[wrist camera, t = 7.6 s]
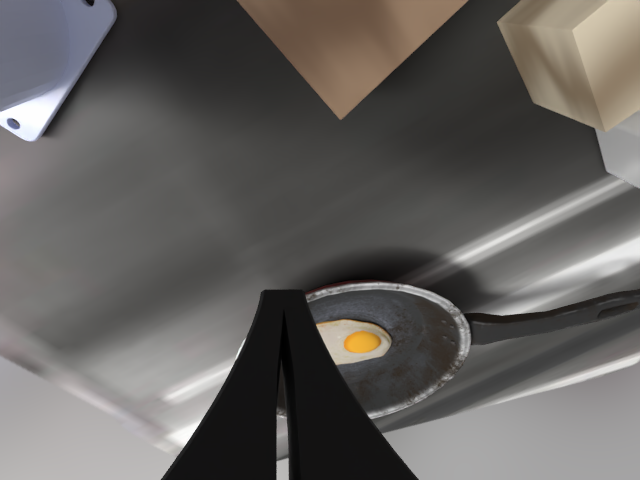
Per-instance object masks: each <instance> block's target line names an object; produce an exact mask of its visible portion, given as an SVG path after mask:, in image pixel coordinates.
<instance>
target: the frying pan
mask: <svg viewBox="0 0 640 480" xmlns="http://www.w3.org/2000/svg"><path fill="white" fill-rule="evenodd" d="M305 295H306V299H307V302H308V305H309V308H310V311H311V314H312V316H313V319H314V321H315V324H316V326H317V328H318V330H319V333H320V335H321V337H322V339H323V341H324V343H325V345H326V347H327V349H328V351H329V353H330V355H331V357H332V359H333V360H334V362H335V364H336V366H337V368H338V369H339V371H340V373H341V375H342V376H343V378H344V380H345V381H346V383H347V385H348V386H349V388H350V389H351V391H352V393H353V394H354V396H355V397H356V399H357V400H358V402H359V403H360V405H361V406H362V408H363V409H364V410H365V412H366V413H367V415H368V416H369V418H370V419H373V418H377V417H380V416H384V415H387V414H391V413H394V412H397V411H399V410H402V409H404V408H407V407H409V406H411V405H413V404H415V403H417V402H419V401H421V400H423V399H425V398H427V397H428V396H430V395H431V394H433V393H434V392H436V391H437V390H439V389H440V388H442V387H443V386H444V385H445V384H446V383H447V382H448V381H449V380H450V379H452V378H453V377H454V375H455V374H456V373H457V372H458V370H459V369H460V368H461V367H462V365H463V363H464V361H465V359H466V357H467V355H468V353H469V350H470V345H485V344H489V343H493V342H497V341H502V340H506V339H512V338H518V337H524V336H530V335H536V334H542V333H548V332H553V331H557V330H561V329H566V328H570V327H574V326H579V325H583V324H588V323H592V322H596V321H601V320H606V319H609V318H613V317H616V316H619V315H622V314H625V313H628V312H630V311H633V310H636V309H639V308H640V289H638V290H631V291H623V292H616V293H611V294H607V295H604V296H600V297H597V298H593V299H589V300H586V301H582V302H579V303H575V304H571V305H568V306H564V307H561V308H557V309H553V310H550V311H545V312H535V313H525V314H515V315H505V316H499V315H492V314H484V313H465V314H463V313H462V312H461V311H460V310H459V309H458V308H457V307H456V306H455V305H454V304H452V303H451V302H450V301H449V300H447V299H445V298H443V297H441V296H439V295H437V294H435V293H433V292H431V291H429V290H426V289H423V288H419V287H415V286H412V285H408V284H403V283H396V282H392V281H382V280H371V279H370V280H353V281H345V282H340V283H335V284H330V285H325V286H323V287H320V288H317V289H314V290H311V291H309V292H306V293H305ZM245 340H246V338H245V339H244V341H243V342H242V344H241V347H240V349H239V351H238V353H237V355H236V359H237V357H238V355H239V353H240V351H241V349H242V347H243V345H244V342H245ZM277 416H280V417H282V418H286V419H287V415H286V405H285V394H284V383H283V372H282V361H281V369H280V380H279V391H278V402H277Z"/></svg>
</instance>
